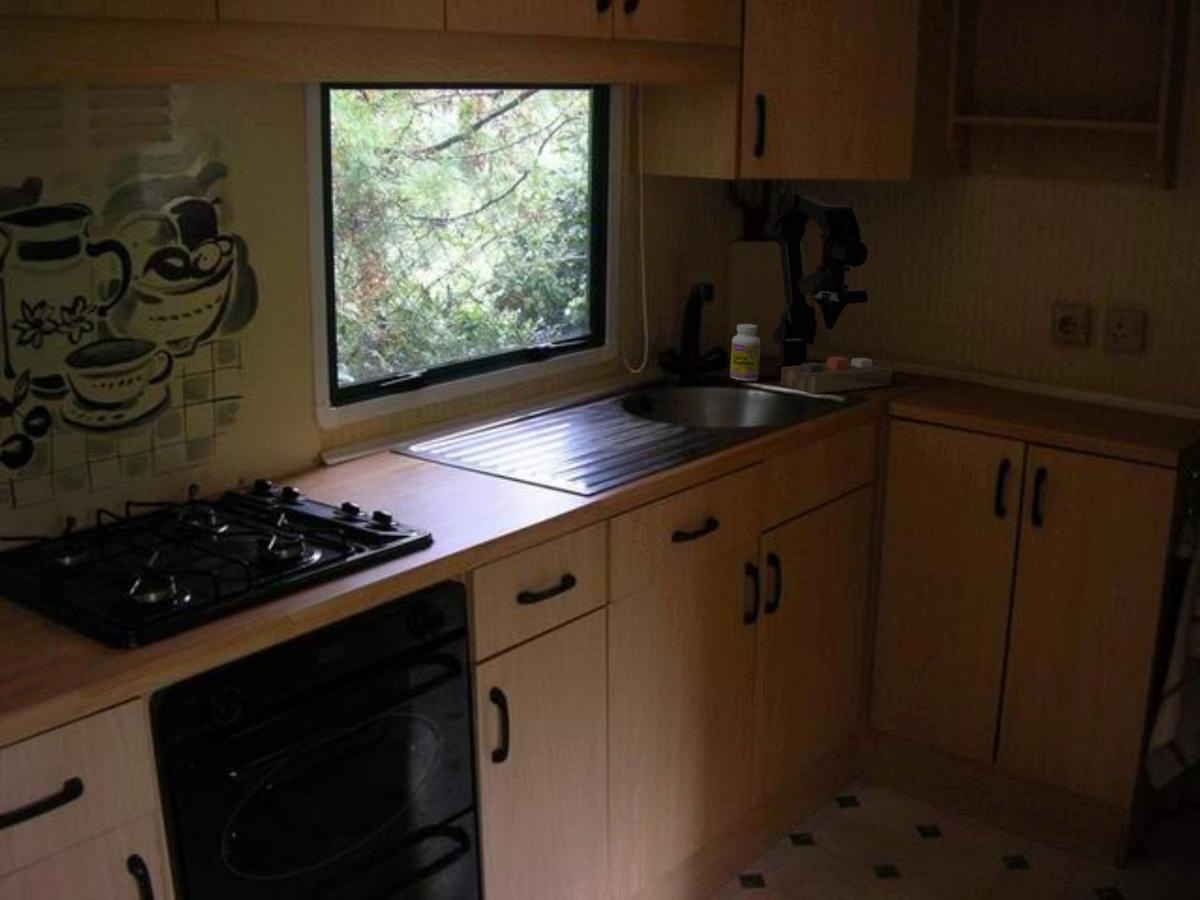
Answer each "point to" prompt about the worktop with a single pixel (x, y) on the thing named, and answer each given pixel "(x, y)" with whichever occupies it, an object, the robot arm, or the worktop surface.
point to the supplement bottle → (745, 353)
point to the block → (836, 378)
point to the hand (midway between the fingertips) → (829, 328)
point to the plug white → (861, 362)
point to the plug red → (837, 363)
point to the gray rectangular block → (812, 367)
